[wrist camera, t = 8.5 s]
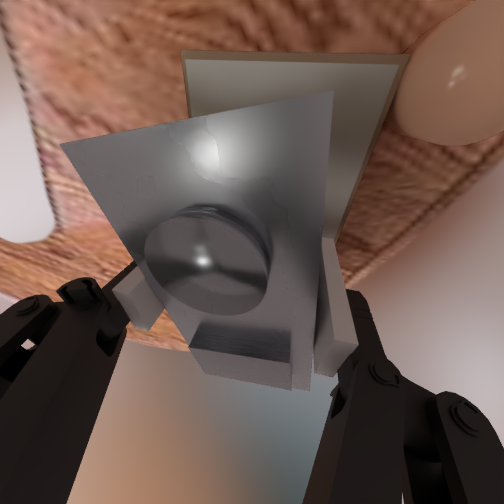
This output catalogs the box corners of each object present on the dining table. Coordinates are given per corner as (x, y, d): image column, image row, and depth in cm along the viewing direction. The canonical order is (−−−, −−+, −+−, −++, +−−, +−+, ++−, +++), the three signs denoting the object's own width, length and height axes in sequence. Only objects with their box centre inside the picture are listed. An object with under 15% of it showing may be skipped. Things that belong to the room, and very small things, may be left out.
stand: (197, 58, 14) (176, 48, 12) (393, 63, 13) (414, 52, 10) (215, 258, 27) (206, 272, 24) (316, 276, 25) (318, 294, 22)
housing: (307, 309, 16) (309, 407, 11) (231, 302, 18) (200, 383, 13) (316, 101, 8) (341, 84, 3) (175, 127, 10) (26, 149, 5)
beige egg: (409, 17, 11) (465, -32, 8) (526, 15, 11) (657, -40, 7) (367, 133, 15) (390, 141, 11) (452, 139, 14) (508, 150, 10)
